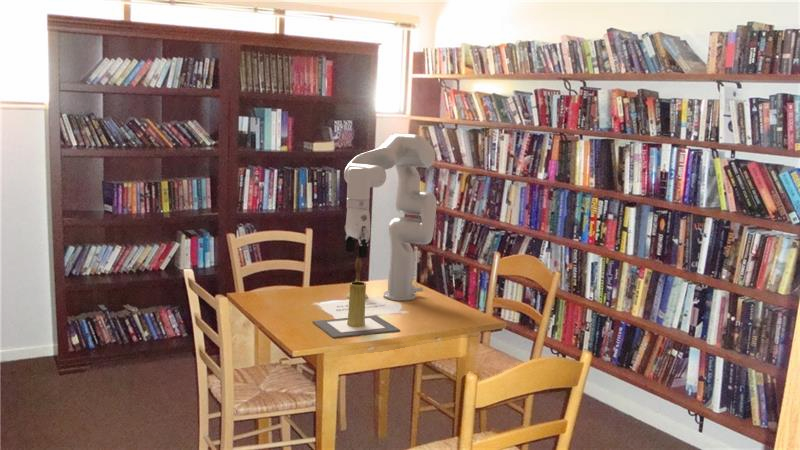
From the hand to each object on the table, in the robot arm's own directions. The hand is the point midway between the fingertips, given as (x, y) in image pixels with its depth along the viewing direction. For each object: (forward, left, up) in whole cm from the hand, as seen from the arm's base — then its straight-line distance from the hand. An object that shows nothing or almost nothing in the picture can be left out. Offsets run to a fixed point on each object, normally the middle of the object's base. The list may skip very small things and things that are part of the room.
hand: (356, 254), depth 246 cm
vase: (+1, +4, -23) cm, 24 cm away
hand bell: (-16, -32, -24) cm, 43 cm away
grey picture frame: (+1, +4, -24) cm, 24 cm away
